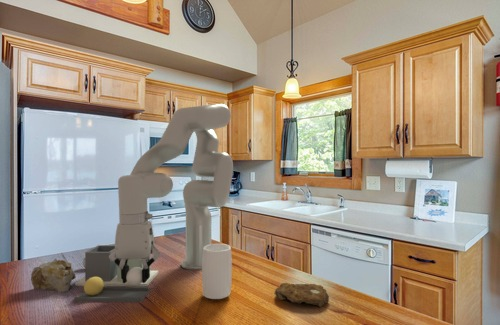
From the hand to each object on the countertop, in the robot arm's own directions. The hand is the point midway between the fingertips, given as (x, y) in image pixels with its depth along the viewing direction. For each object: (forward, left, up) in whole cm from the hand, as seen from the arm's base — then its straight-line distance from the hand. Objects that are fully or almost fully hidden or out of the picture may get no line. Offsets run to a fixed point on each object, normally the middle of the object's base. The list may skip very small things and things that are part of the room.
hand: (135, 280), depth 85 cm
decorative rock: (-47, +2, -5) cm, 47 cm away
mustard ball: (+12, +1, -4) cm, 12 cm away
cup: (-23, +1, -5) cm, 24 cm away
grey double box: (+10, -10, -4) cm, 15 cm away
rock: (+27, -4, -5) cm, 27 cm away
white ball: (0, 0, -1) cm, 1 cm away
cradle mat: (+6, +1, -4) cm, 8 cm away
